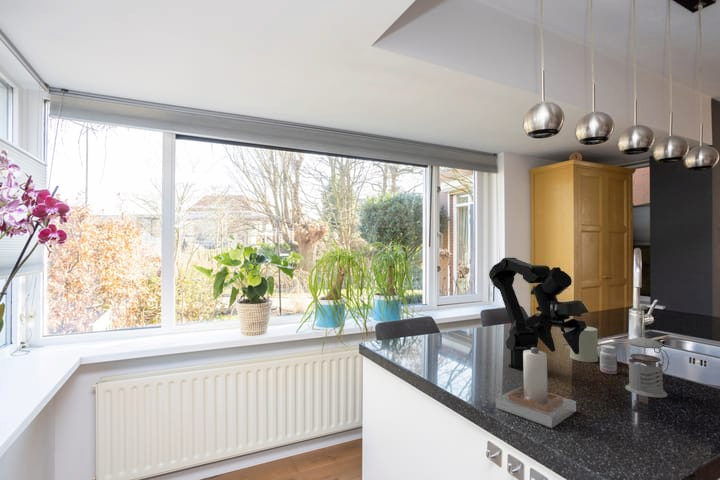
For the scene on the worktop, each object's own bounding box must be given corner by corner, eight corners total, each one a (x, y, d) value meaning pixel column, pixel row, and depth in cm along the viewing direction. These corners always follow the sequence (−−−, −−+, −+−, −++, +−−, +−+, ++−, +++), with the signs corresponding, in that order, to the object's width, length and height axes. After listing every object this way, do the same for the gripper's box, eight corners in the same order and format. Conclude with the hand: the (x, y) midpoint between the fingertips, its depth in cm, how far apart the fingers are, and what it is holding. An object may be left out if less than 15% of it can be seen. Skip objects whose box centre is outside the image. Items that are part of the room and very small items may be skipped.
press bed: (496, 407, 94) (495, 394, 95) (522, 394, 103) (522, 381, 103) (551, 428, 84) (551, 412, 84) (576, 411, 92) (575, 397, 93)
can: (594, 356, 140) (593, 325, 140) (601, 363, 131) (601, 330, 131) (567, 354, 143) (566, 323, 143) (572, 360, 134) (572, 328, 134)
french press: (616, 385, 110) (614, 302, 111) (652, 383, 111) (650, 302, 112) (644, 398, 100) (642, 307, 101) (683, 396, 101) (680, 306, 102)
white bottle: (519, 396, 96) (518, 345, 96) (537, 394, 97) (537, 344, 97) (533, 404, 90) (532, 351, 91) (552, 403, 91) (551, 350, 92)
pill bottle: (620, 374, 119) (619, 348, 120) (604, 373, 120) (603, 348, 120) (613, 369, 124) (612, 345, 124) (597, 369, 125) (597, 344, 125)
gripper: (544, 286, 102) (564, 341, 94) (591, 295, 109) (614, 346, 100) (517, 302, 111) (532, 353, 102) (561, 309, 117) (580, 358, 108)
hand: (565, 352), depth 103 cm, fingers open, 9 cm apart
